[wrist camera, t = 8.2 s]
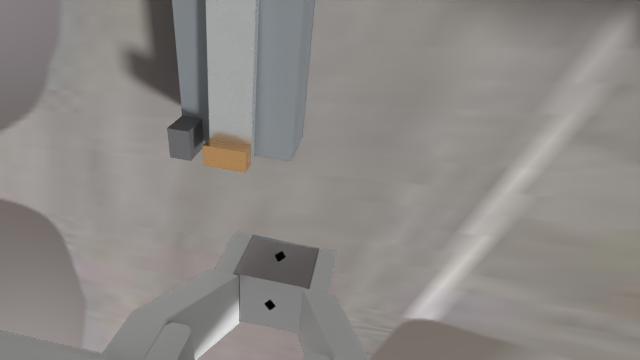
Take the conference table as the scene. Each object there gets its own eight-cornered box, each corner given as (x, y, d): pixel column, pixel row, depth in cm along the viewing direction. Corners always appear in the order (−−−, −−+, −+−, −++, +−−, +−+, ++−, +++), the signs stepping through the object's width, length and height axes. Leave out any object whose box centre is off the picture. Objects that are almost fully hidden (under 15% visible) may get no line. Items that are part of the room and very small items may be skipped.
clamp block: (321, -77, 32) (302, -85, 25) (302, 136, 43) (284, 176, 35) (197, -93, 33) (140, -105, 26) (208, 120, 44) (170, 157, 36)
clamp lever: (260, -40, 29) (250, -41, 27) (253, 160, 37) (245, 172, 35) (209, -47, 29) (195, -48, 27) (214, 153, 38) (203, 165, 35)
